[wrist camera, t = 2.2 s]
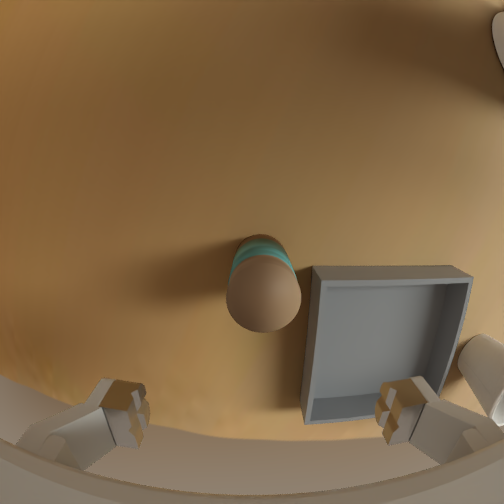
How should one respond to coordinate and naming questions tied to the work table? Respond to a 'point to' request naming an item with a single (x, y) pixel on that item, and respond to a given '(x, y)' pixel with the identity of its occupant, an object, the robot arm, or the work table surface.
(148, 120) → the work table surface
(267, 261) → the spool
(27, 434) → the robot arm
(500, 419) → the dixie cup
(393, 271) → the bin
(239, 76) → the work table surface
